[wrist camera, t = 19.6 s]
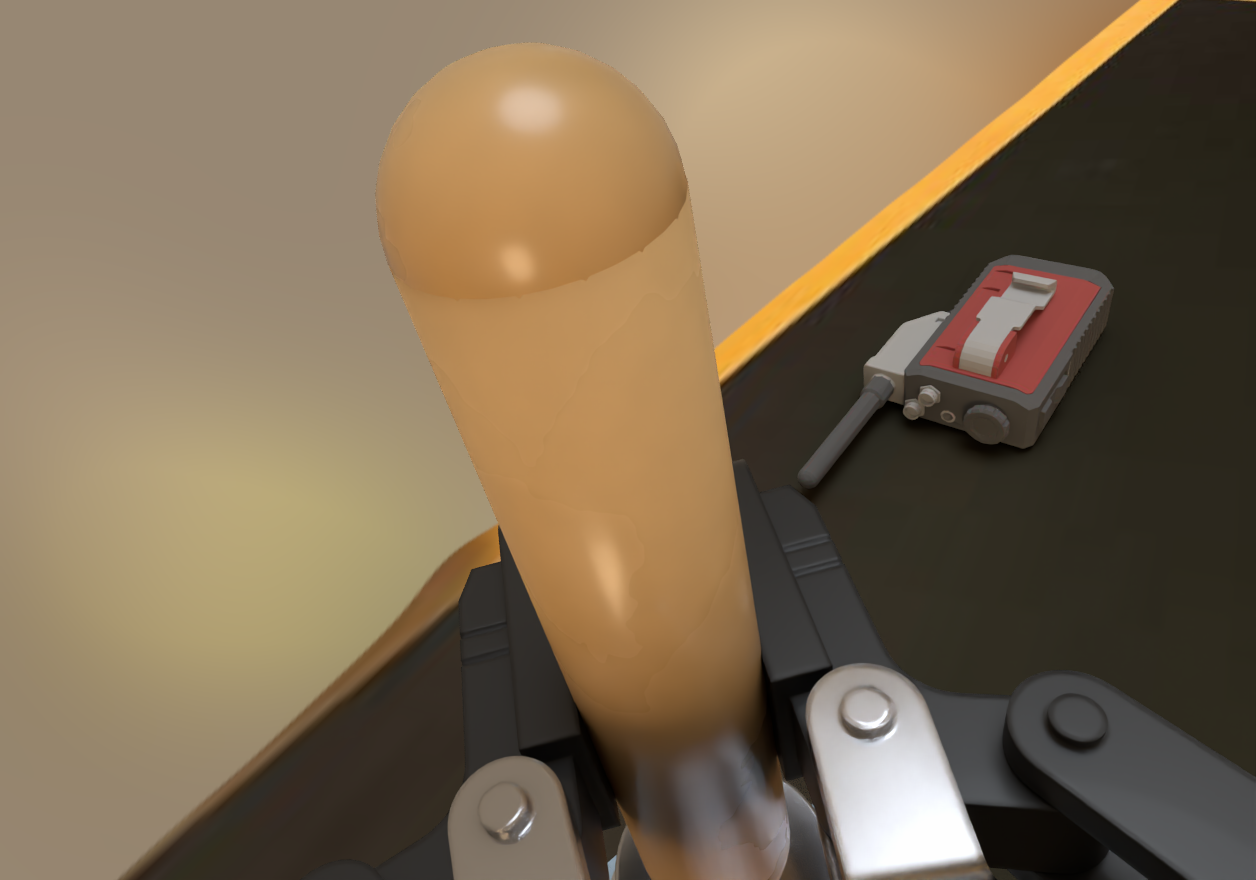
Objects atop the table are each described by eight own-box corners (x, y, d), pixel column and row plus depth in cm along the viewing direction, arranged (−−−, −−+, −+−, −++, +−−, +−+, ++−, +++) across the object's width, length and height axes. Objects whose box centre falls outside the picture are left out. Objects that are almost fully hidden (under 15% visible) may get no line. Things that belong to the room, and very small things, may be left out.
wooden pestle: (813, 1201, 15) (543, 329, 3) (599, 1034, 17) (-10, 187, 6) (916, 947, 18) (985, -76, 6) (717, 831, 20) (469, -54, 8)
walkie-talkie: (960, 279, 52) (784, 496, 42) (964, 212, 50) (777, 428, 39) (1120, 312, 48) (965, 567, 37) (1136, 240, 45) (973, 495, 35)
